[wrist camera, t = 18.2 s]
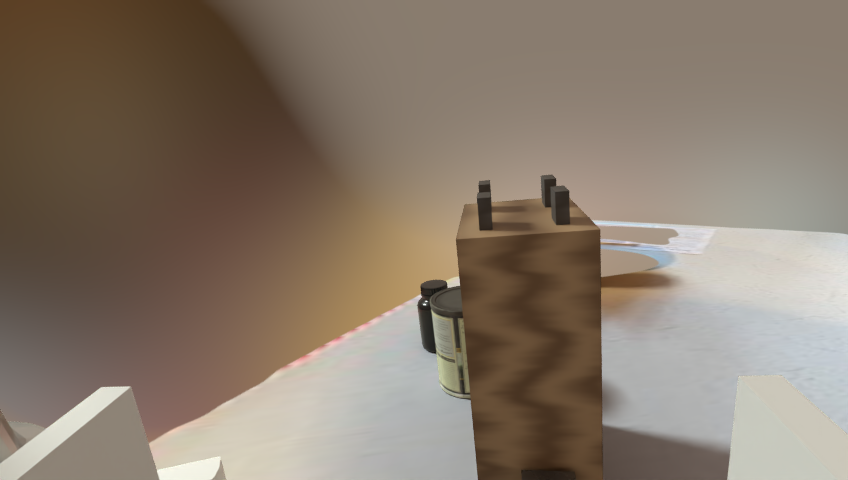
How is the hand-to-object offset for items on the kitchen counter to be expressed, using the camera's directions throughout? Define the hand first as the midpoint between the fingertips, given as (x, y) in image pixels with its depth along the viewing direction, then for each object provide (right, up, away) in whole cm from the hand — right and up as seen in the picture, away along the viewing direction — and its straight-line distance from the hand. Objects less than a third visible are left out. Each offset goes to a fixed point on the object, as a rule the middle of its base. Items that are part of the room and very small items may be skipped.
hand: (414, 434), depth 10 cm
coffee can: (+8, -18, +63) cm, 66 cm away
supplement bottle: (+3, -15, +75) cm, 77 cm away
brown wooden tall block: (+13, -22, +44) cm, 51 cm away
